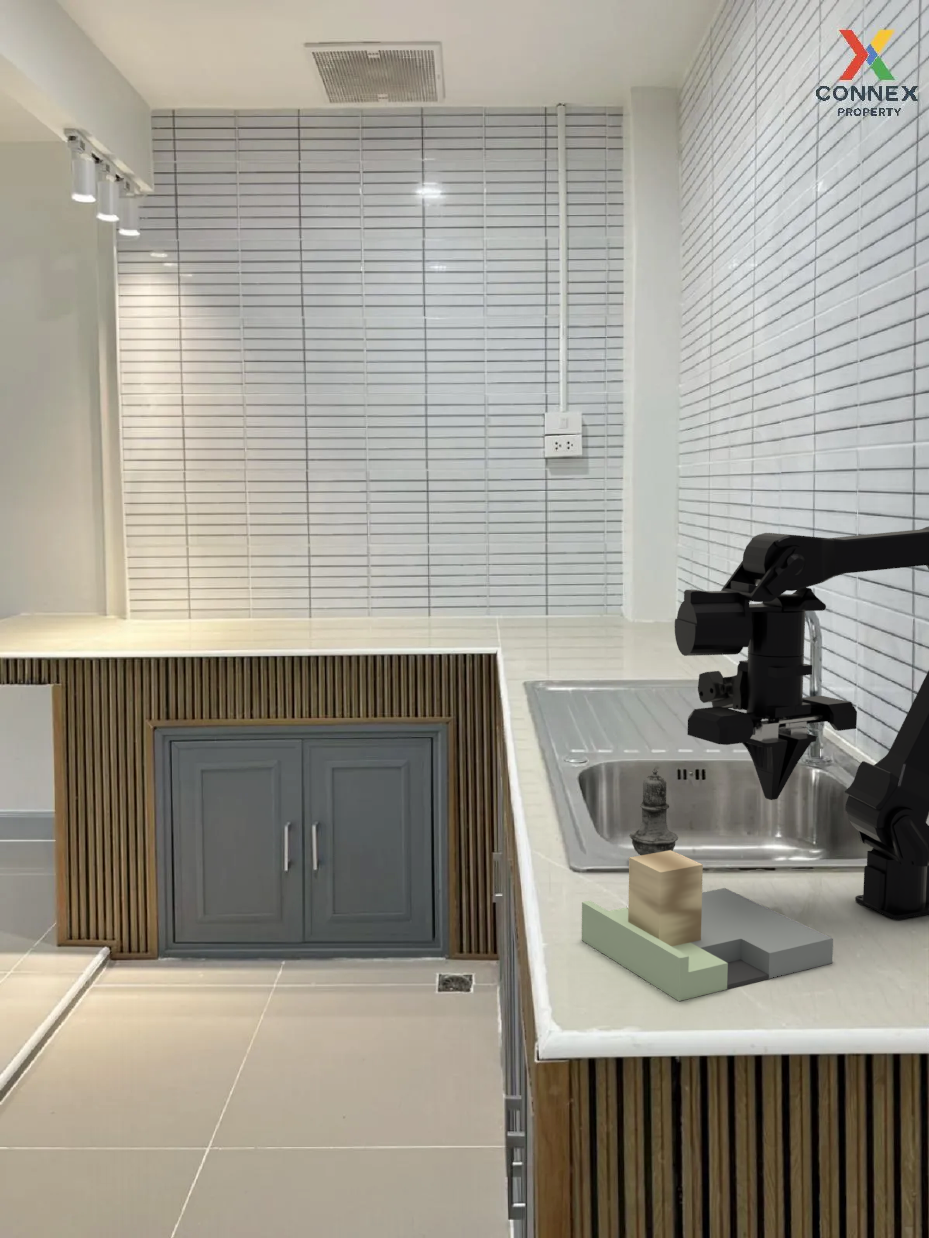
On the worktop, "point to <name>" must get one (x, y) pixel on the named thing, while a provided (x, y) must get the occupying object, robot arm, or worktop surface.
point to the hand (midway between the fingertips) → (771, 798)
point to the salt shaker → (653, 819)
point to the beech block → (666, 896)
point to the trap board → (710, 946)
